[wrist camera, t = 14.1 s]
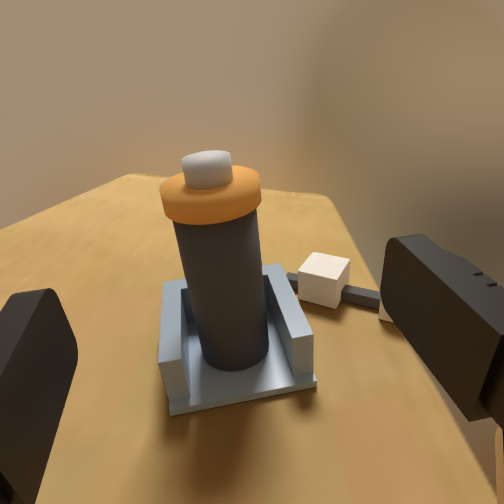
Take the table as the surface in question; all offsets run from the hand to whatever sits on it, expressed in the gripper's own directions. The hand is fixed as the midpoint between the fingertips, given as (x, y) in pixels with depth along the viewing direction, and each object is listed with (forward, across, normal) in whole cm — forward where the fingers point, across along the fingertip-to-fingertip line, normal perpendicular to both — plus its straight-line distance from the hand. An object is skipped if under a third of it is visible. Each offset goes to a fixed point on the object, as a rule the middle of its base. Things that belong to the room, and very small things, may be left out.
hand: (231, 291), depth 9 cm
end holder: (+10, 0, +13) cm, 16 cm away
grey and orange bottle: (+10, 0, +12) cm, 16 cm away
